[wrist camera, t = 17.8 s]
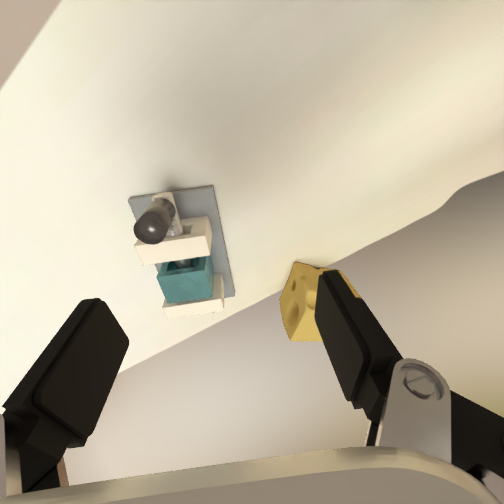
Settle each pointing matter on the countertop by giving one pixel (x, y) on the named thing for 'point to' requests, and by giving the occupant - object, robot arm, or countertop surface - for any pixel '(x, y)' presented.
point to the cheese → (303, 302)
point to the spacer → (187, 280)
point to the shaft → (161, 224)
